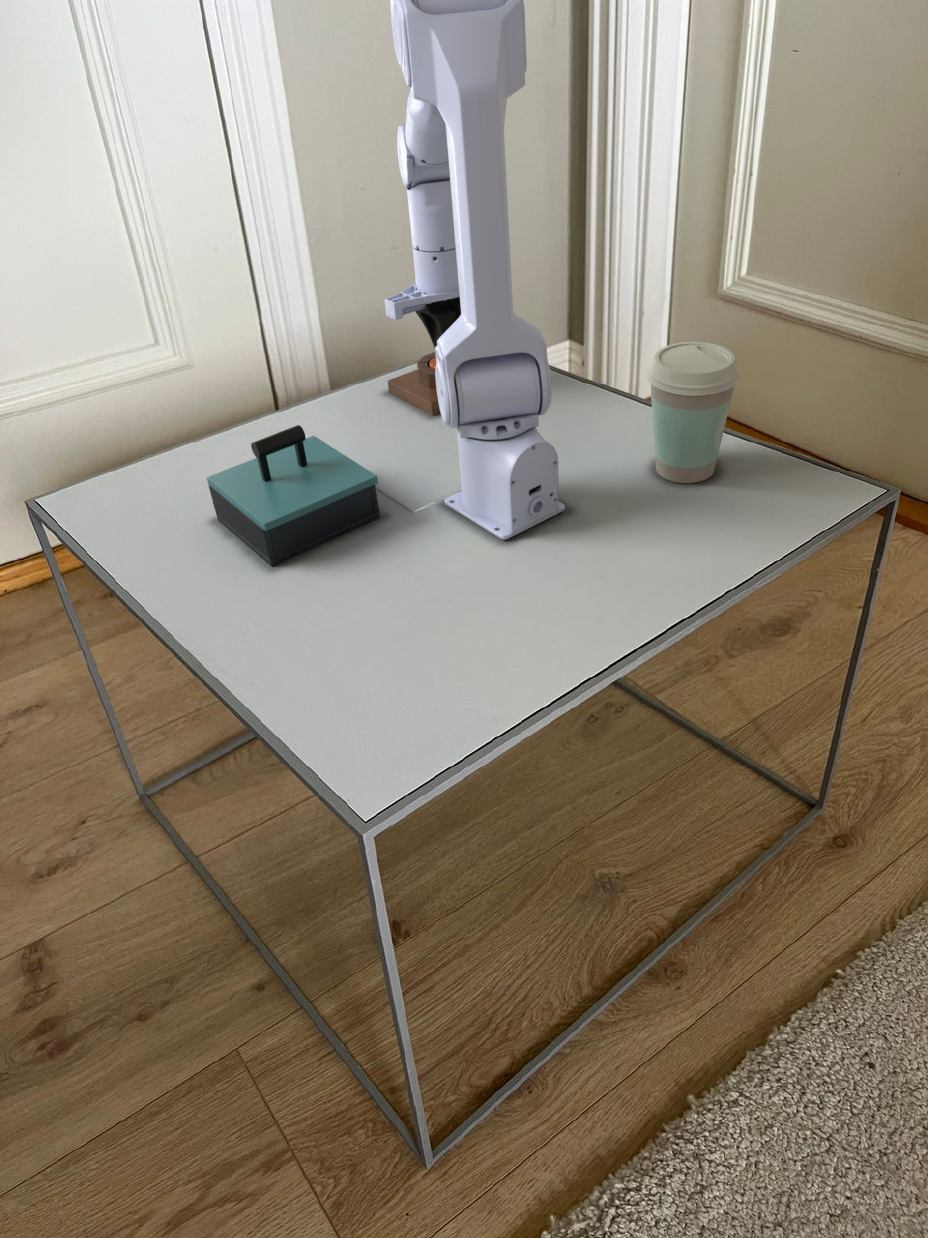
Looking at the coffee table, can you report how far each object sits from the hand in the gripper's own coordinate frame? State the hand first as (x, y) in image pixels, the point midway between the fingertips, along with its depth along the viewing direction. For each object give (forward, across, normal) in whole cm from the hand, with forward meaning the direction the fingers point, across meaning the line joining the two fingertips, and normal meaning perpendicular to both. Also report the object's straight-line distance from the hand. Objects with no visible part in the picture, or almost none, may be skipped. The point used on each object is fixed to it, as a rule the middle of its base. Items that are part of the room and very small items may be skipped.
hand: (447, 361), depth 113 cm
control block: (+4, 0, 0) cm, 4 cm away
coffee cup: (+4, -5, +33) cm, 34 cm away
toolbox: (-1, +29, +13) cm, 32 cm away
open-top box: (+3, +29, +13) cm, 32 cm away
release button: (+2, 0, 0) cm, 2 cm away
